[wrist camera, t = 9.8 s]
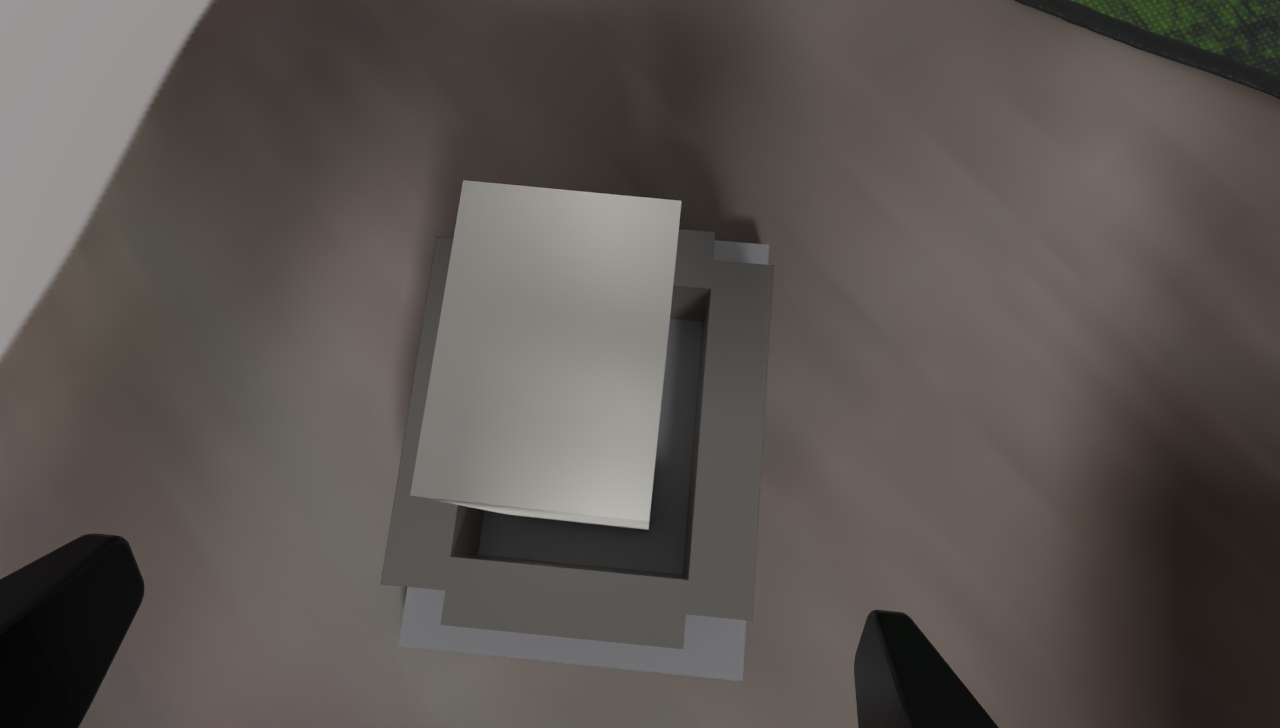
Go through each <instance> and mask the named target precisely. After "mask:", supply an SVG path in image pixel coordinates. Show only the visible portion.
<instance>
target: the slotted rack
mask: <svg viewBox="0 0 1280 728" xmlns="http://www.w3.org/2000/svg"><path fill="white" fill-rule="evenodd" d="M452 244H453V238H448V237H436V243H435V249H434V256H433V262H432V268H431V274H430V281H429V287H428V293H427V299H426V305H425V312H424V318H423V324H422V330H421V336H420V343H419V349H418V355H417V361H416V367H415V374H414V380H413V386H412V392H411V398H410V405H409V411H408V417H407V423H406V430H405V436H404V442H403V448H402V454H401V461H400V467H399V473H398V479H397V485H396V492H395V498H394V504H393V510H392V516H391V523H390V529H389V535H388V541H387V547H386V554H385V560H384V566H383V572H382V579H381V584H384V585H394V586H404V587H407V593H406V599H405V606H404V612H403V619H402V625H401V632H400V638H399V645H398V646H400V647H410V648H420V649H429V650H439V651H449V652H459V653H469V654H479V655H489V656H498V657H508V658H518V659H528V660H538V661H548V662H558V663H568V664H577V665H587V666H597V667H607V668H617V669H627V670H637V671H646V672H656V673H666V674H676V675H686V676H696V677H706V678H715V679H725V680H735V681H743V666H744V650H745V633H746V620H748V621H752V617H753V600H754V583H755V566H756V550H757V533H758V516H759V499H760V482H761V466H762V449H763V432H764V415H765V398H766V381H767V365H768V348H769V331H770V314H771V297H772V281H773V265H768V257H769V245H766V244H754V243H742V242H730V241H719V240H715V232H709V231H697V230H685V229H679V233H678V243H677V253H676V263H675V273H674V283H673V293H672V303H671V313H670V323H669V333H668V343H667V353H666V363H665V373H664V383H663V392H662V402H661V412H660V422H659V432H658V442H657V452H656V461H655V471H654V481H653V491H652V501H651V511H650V520H649V530H648V531H646V530H637V529H627V528H618V527H609V526H600V525H590V524H581V523H572V522H563V521H554V520H544V519H535V518H526V517H518V516H513V515H508V514H503V513H497V512H492V511H487V510H482V509H477V508H472V507H466V506H461V505H456V504H451V503H446V502H441V501H435V500H430V499H425V498H420V497H415V496H410V493H411V487H412V481H413V475H414V469H415V463H416V457H417V451H418V446H419V440H420V434H421V428H422V422H423V416H424V410H425V404H426V398H427V392H428V386H429V380H430V374H431V369H432V363H433V357H434V351H435V345H436V339H437V333H438V327H439V321H440V315H441V309H442V303H443V297H444V292H445V286H446V280H447V274H448V268H449V262H450V256H451V250H452Z"/></svg>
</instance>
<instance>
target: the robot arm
mask: <svg viewBox="0 0 1280 728" xmlns="http://www.w3.org/2000/svg"><path fill="white" fill-rule="evenodd" d="M143 595H144V581H143V578H142V575H141V573H140V570H139V568H138V565H137V563H136V560H135V558H134V555H133V553H132V550H131V547H130V545H129V543H128V542H127V540H125V539H124V538H123V537H120V536H115V535H104V534H87V535H83V536H81V537H79V538H77V539H75V540H73V541H71V542H70V543H68V544H66V545H64V546H62V547H60V548H58V549H56V550H55V551H53V552H51V553H49V554H47V555H45V556H43V557H41V558H40V559H38V560H36V561H34V562H32V563H30V564H28V565H26V566H25V567H23V568H21V569H19V570H17V571H15V572H13V573H11V574H10V575H8V576H6V577H4V578H2V579H0V728H78V727H79V725H80V723H81V722H82V720H83V718H84V716H85V714H86V712H87V711H88V709H89V707H90V705H91V703H92V701H93V699H94V697H95V695H96V693H97V691H98V689H99V687H100V685H101V683H102V681H103V679H104V677H105V675H106V673H107V671H108V669H109V667H110V665H111V663H112V661H113V659H114V657H115V655H116V653H117V651H118V649H119V647H120V645H121V643H122V641H123V639H124V637H125V635H126V633H127V631H128V629H129V627H130V625H131V623H132V621H133V619H134V617H135V615H136V613H137V611H138V609H139V607H140V604H141V602H142V599H143ZM854 677H855V689H856V701H857V714H858V726H859V728H998V726H997V725H996V724H995V723H994V721H993V720H992V719H991V718H990V716H989V715H988V714H987V713H986V711H985V710H984V709H983V708H982V706H981V705H980V704H979V703H978V701H977V700H976V699H975V698H974V696H973V695H972V694H971V693H970V691H969V690H968V689H967V688H966V686H965V685H964V684H963V683H962V681H961V680H960V679H959V678H958V676H957V675H956V674H955V673H954V671H953V670H952V669H951V668H950V667H949V665H948V664H947V663H946V662H945V660H944V659H943V658H942V657H941V655H940V654H939V653H938V652H937V650H936V649H935V648H934V647H933V645H932V644H931V643H930V642H929V640H928V639H927V638H926V637H925V635H924V634H923V633H922V632H921V630H920V629H919V628H918V627H917V625H916V624H915V623H914V622H913V620H912V619H911V618H910V617H909V616H908V615H906V614H904V613H901V612H893V611H883V610H873V611H871V612H870V614H869V615H868V617H867V620H866V623H865V626H864V629H863V632H862V635H861V639H860V642H859V645H858V648H857V651H856V655H855V663H854Z"/></svg>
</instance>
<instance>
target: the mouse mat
mask: <svg viewBox="0 0 1280 728" xmlns="http://www.w3.org/2000/svg"><path fill="white" fill-rule="evenodd" d="M1015 1H1017V2H1019V3H1021V4H1024V5H1027V6H1030V7H1033V8H1035V9H1038V10H1041V11H1043V12H1046V13H1048V14H1051V15H1054V16H1056V17H1059V18H1061V19H1063V20H1065V21H1067V22H1069V23H1072V24H1075V25H1078V26H1081V27H1084V28H1087V29H1089V30H1091V31H1093V32H1096V33H1098V34H1101V35H1104V36H1107V37H1110V38H1112V39H1114V40H1116V41H1120V42H1123V43H1125V44H1127V45H1130V46H1132V47H1134V48H1137V49H1140V50H1143V51H1146V52H1149V53H1152V54H1155V55H1158V56H1161V57H1164V58H1167V59H1170V60H1173V61H1176V62H1179V63H1182V64H1185V65H1188V66H1191V67H1194V68H1197V69H1200V70H1203V71H1206V72H1209V73H1212V74H1215V75H1218V76H1220V77H1223V78H1225V79H1228V80H1231V81H1234V82H1237V83H1240V84H1243V85H1246V86H1248V87H1251V88H1254V89H1256V90H1259V91H1262V92H1265V93H1268V94H1270V95H1273V96H1275V97H1277V98H1279V99H1280V0H1015Z"/></svg>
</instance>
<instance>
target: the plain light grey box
mask: <svg viewBox="0 0 1280 728" xmlns="http://www.w3.org/2000/svg"><path fill="white" fill-rule="evenodd" d="M681 202H682V201H678V200H667V199H657V198H646V197H635V196H625V195H614V194H604V193H593V192H582V191H572V190H561V189H551V188H540V187H529V186H519V185H508V184H498V183H487V182H476V181H466V180H463V185H462V191H461V197H460V203H459V209H458V215H457V220H456V226H455V232H454V238H453V244H452V250H451V256H450V262H449V268H448V274H447V280H446V286H445V292H444V297H443V303H442V309H441V315H440V321H439V327H438V333H437V339H436V345H435V351H434V357H433V363H432V369H431V374H430V380H429V386H428V392H427V398H426V404H425V410H424V416H423V422H422V428H421V434H420V440H419V446H418V451H417V457H416V463H415V469H414V475H413V481H412V487H411V493H410V496H415V497H420V498H425V499H430V500H435V501H441V502H446V503H451V504H456V505H461V506H466V507H472V508H477V509H482V510H487V511H492V512H497V513H503V514H508V515H513V516H518V517H526V518H535V519H544V520H554V521H563V522H572V523H581V524H590V525H600V526H609V527H618V528H627V529H637V530H646V531H648V530H649V520H650V511H651V501H652V491H653V481H654V471H655V461H656V452H657V442H658V432H659V422H660V412H661V402H662V392H663V383H664V373H665V363H666V353H667V343H668V333H669V323H670V313H671V303H672V293H673V283H674V273H675V263H676V253H677V243H678V233H679V223H680V212H681Z"/></svg>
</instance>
